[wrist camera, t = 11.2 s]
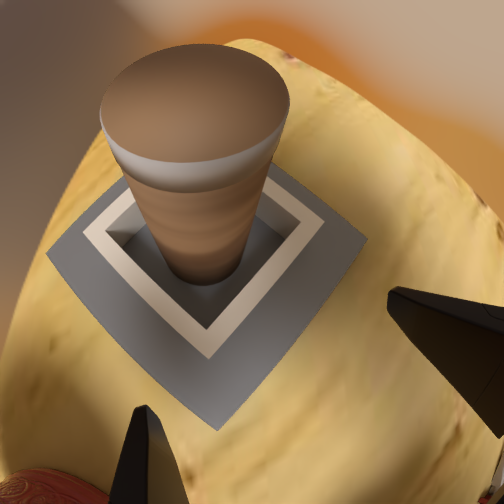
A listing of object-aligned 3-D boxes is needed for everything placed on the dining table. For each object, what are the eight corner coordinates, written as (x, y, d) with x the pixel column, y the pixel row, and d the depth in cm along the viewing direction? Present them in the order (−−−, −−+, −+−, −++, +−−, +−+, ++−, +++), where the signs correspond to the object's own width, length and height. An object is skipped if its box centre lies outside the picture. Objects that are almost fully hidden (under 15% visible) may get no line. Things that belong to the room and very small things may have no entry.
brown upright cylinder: (231, 297, 17) (266, 188, 6) (151, 272, 17) (63, 142, 6) (253, 221, 19) (302, 62, 7) (178, 200, 19) (153, 37, 7)
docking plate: (217, 427, 15) (218, 447, 11) (52, 258, 17) (23, 237, 13) (361, 243, 20) (389, 221, 17) (202, 122, 22) (202, 87, 19)
